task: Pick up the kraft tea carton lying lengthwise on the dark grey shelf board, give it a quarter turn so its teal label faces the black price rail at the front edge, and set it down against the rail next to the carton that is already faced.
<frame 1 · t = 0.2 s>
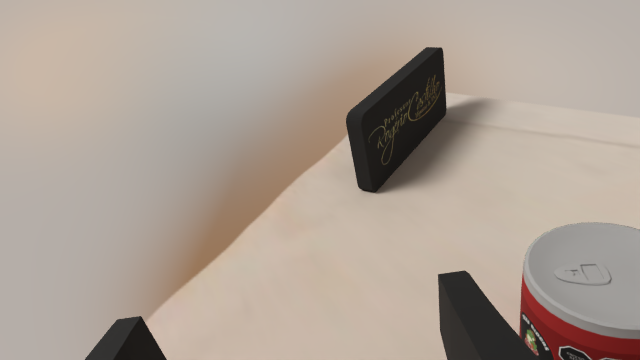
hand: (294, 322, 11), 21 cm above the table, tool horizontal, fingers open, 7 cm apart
nameplate: (407, 150, 59), on the table
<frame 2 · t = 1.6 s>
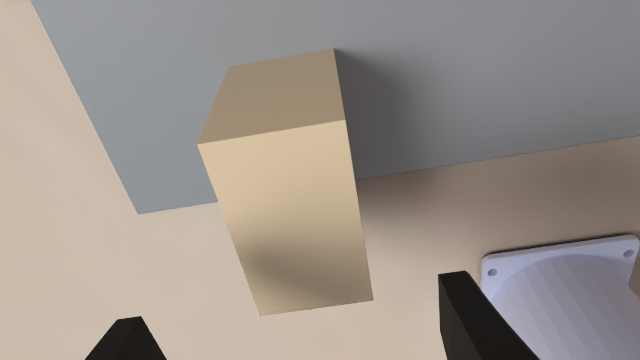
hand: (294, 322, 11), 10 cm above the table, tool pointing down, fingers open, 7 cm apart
tea carton: (298, 138, 19), point 1 cm above the table, touching shelf board
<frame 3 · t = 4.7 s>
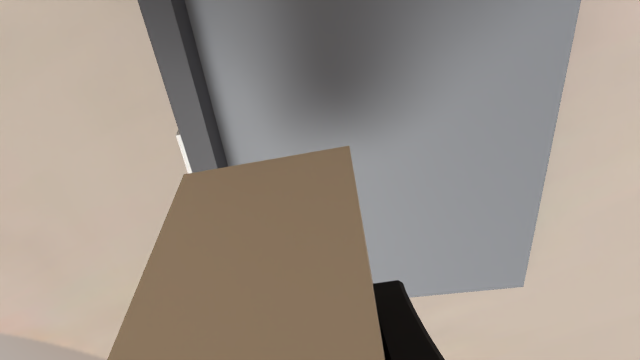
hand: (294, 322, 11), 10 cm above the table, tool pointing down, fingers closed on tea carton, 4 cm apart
tea carton: (296, 266, 13), point 8 cm above the table, touching gripper
shelf board: (361, 24, 17), on the table
when the fingers open (4 cm above the table, at t = 6.3 s): tea carton drops 1 cm, resting on shelf board.
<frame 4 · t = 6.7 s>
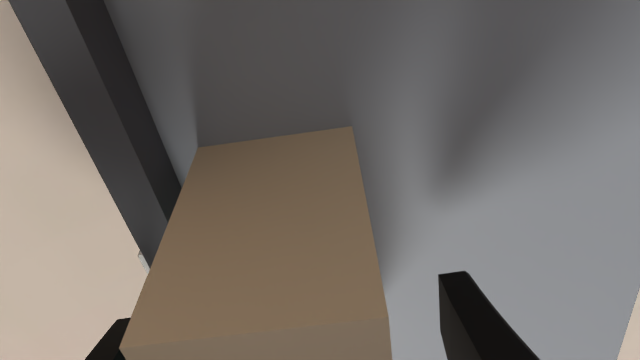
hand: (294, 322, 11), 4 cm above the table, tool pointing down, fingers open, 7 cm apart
tea carton: (297, 239, 14), point 1 cm above the table, touching shelf board
shelf board: (390, 84, 12), on the table
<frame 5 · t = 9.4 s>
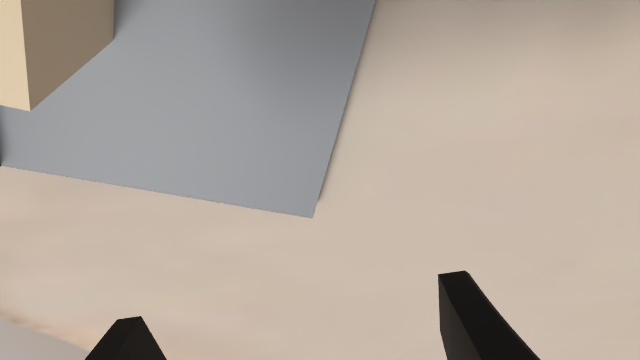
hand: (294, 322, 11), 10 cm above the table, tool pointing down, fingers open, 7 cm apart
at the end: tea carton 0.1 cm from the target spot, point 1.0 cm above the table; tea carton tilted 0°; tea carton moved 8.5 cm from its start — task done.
